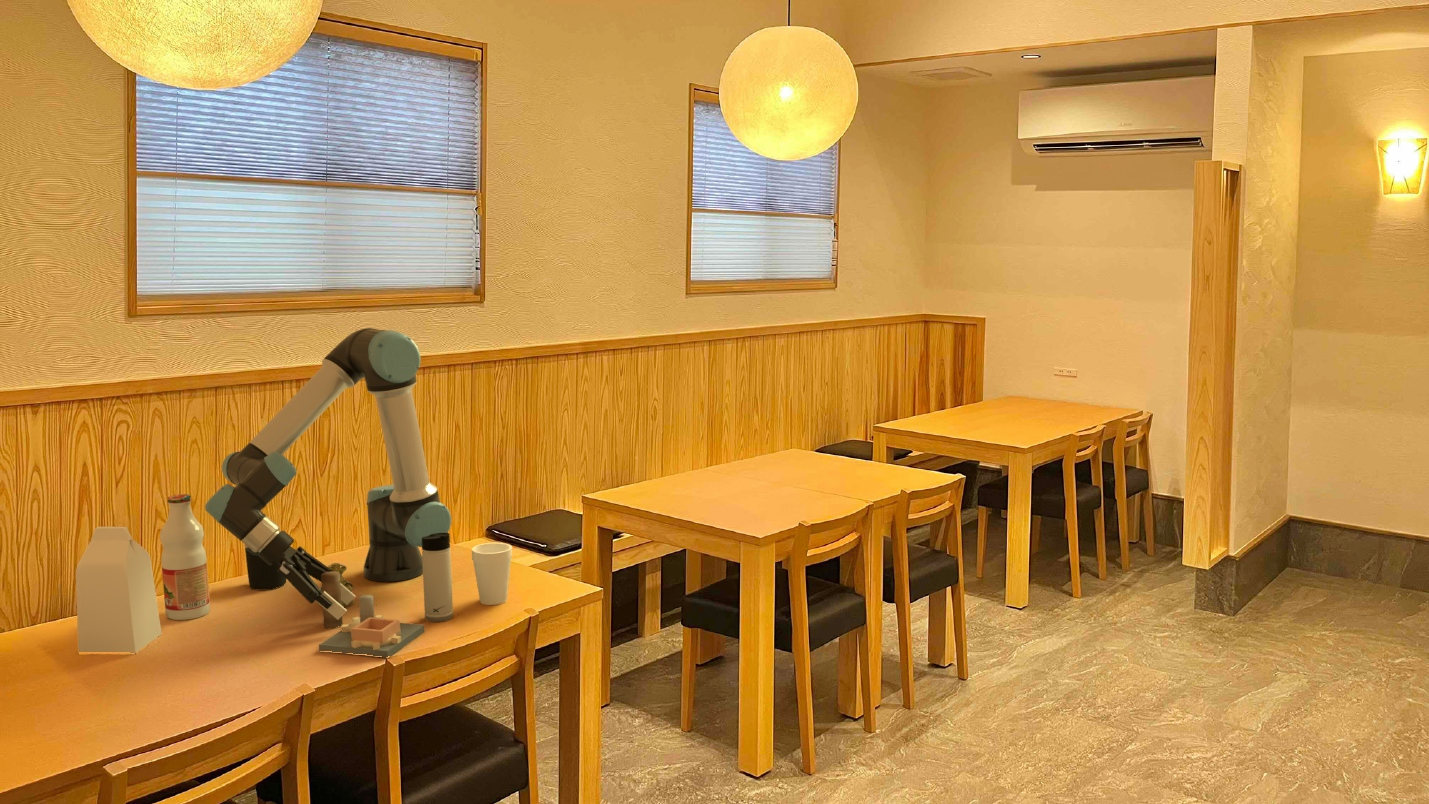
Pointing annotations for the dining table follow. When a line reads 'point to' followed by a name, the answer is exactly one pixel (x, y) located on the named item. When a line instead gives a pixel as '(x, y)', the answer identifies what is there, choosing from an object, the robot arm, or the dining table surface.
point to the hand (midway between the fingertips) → (347, 607)
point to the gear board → (372, 633)
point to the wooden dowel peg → (334, 590)
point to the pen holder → (262, 572)
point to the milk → (115, 594)
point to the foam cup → (492, 571)
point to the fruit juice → (184, 562)
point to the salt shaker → (341, 579)
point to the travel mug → (437, 577)
